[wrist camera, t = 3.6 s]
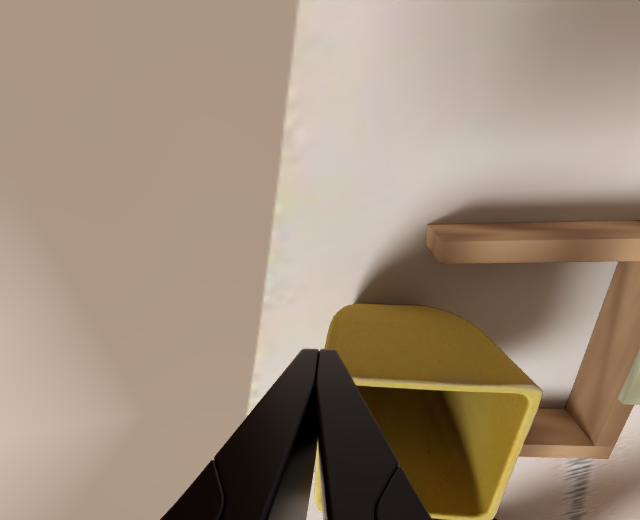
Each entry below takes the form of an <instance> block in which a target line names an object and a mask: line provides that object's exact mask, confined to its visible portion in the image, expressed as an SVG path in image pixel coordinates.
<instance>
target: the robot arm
mask: <svg viewBox="0 0 640 520" xmlns="http://www.w3.org/2000/svg"><path fill="white" fill-rule="evenodd" d="M317 443H318V452H319V467H320V481H321V494H322V508H323V520H447V519H436V518H431V516H430V514H429V513H428V511H427V509H426V508H425V506H424V504H423V503H422V501H421V499H420V498H419V496H418V494H417V493H416V491H415V489H414V488H413V486H412V484H411V482H410V481H409V479H408V477H407V475H406V473H405V472H404V470H403V468H402V467H401V466H400V464H399V461H398V459H397V458H396V456H395V454H394V452H393V451H392V449H391V447H390V445H389V443H388V442H387V440H386V438H385V436H384V434H383V433H382V431H381V429H380V427H379V425H378V424H377V422H376V420H375V418H374V416H373V415H372V413H371V411H370V409H369V408H368V406H367V404H366V402H365V400H364V399H363V397H362V395H361V393H360V391H359V390H358V388H357V386H356V384H355V382H354V381H353V379H352V377H351V375H350V373H349V372H348V370H347V368H346V366H345V365H344V363H343V361H342V359H341V357H340V356H339V354H338V352H337V351H336V350H335V349H321V350H320V351H319V350H318V349H302V350H301V351H300V352H299V354H298V355H297V356H296V357H295V359H294V360H293V361H292V362H291V364H290V365H289V366H288V367H287V368H286V370H285V371H284V372H283V373H282V375H281V376H280V377H279V378H278V379H277V381H276V382H275V383H274V384H273V386H272V387H271V388H270V389H269V390H268V392H267V393H266V394H265V395H264V397H263V398H262V399H261V400H260V402H259V403H258V404H257V405H256V406H255V408H254V409H253V410H252V411H251V413H250V414H249V415H248V416H247V417H246V419H245V420H244V421H243V423H242V424H241V425H240V426H239V427H238V429H237V430H236V431H235V432H234V433H233V435H232V436H231V437H230V438H229V440H228V441H227V442H226V443H225V444H224V446H223V447H222V448H221V449H220V451H219V452H218V453H217V454H216V456H215V457H214V460H215V461H214V460H211V461H210V463H209V464H208V465H207V466H206V467H205V469H204V470H203V471H202V472H201V474H200V475H199V476H198V477H197V478H196V480H195V481H194V482H193V483H192V484H191V486H190V487H189V488H188V489H187V490H186V491H185V493H184V494H183V495H182V496H181V497H180V498H179V499H178V501H177V502H176V503H175V504H174V505H173V507H171V508H170V510H169V511H168V512H167V513H166V514H165V515H164V516H163V517H162V518H161V519H160V520H306V516H307V510H308V504H309V497H310V491H311V485H312V478H313V472H314V466H315V459H316V452H317ZM492 520H497V519H495V518H493V519H492Z"/></svg>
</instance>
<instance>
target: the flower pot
mask: <svg viewBox="0 0 640 520" xmlns="http://www.w3.org/2000/svg"><path fill="white" fill-rule="evenodd" d="M325 349H335V350H336V351H337V352H338V354H339V356H340V357H341V359H342V361H343V363H344V365H345V366H346V368H347V370H348V372H349V373H350V375H351V377H352V379H353V381H354V382H355V384H356V386H357V388H358V390H359V391H360V393H361V395H362V397H363V399H364V400H365V402H366V404H367V406H368V408H369V409H370V411H371V413H372V415H373V416H374V418H375V420H376V422H377V424H378V425H379V427H380V429H381V431H382V433H383V434H384V436H385V438H386V440H387V442H388V443H389V445H390V447H391V449H392V451H393V452H394V454H395V456H396V458H397V459H398V461H399V464H400V466H401V467H402V468H403V470H404V472H405V473H406V475H407V477H408V479H409V481H410V482H411V484H412V486H413V488H414V489H415V491H416V493H417V494H418V496H419V498H420V499H421V501H422V503H423V504H424V506H425V508H426V509H427V511H428V513H429V514H430V516H431V518H436V519H447V520H492V519H493V518H494V517H495V515H496V513H497V511H498V508H499V505H500V503H501V500H502V497H503V495H504V493H505V490H506V487H507V484H508V481H509V478H510V476H511V474H512V472H513V469H514V466H515V464H516V461H517V458H518V456H519V454H520V452H521V449H522V447H523V444H524V441H525V438H526V436H527V434H528V432H529V430H530V428H531V425H532V422H533V419H534V417H535V415H536V412H537V410H538V407H539V404H540V400H541V397H542V392H543V391H542V390H541V389H540V388H539V387H538V386H537V385H536V384H535V383H534V382H533V381H532V380H531V379H530V378H529V377H528V376H527V375H526V374H525V373H524V372H523V371H522V370H521V369H520V368H519V367H518V366H517V365H516V364H515V363H514V362H513V361H512V360H511V359H510V358H509V357H508V356H507V355H506V354H505V353H504V352H503V351H502V350H501V349H500V348H499V347H497V346H496V345H495V344H494V343H493V342H492V341H491V340H490V339H489V338H488V337H487V336H486V335H485V334H484V333H483V332H481V331H480V330H479V329H478V328H477V327H475V326H474V325H473V324H471V323H470V322H468V321H467V320H465V319H463V318H462V317H459V316H457V315H455V314H453V313H450V312H447V311H444V310H440V309H436V308H431V307H425V306H411V305H383V304H363V303H360V304H353V305H348V306H346V307H344V308H342V309H341V310H340V311H338V312H337V313H336V315H335V316H334V317H333V319H332V321H331V324H330V326H329V330H328V334H327V339H326V344H325ZM314 500H315V505H316V507H317V509H318V510H320V511H323V508H322V494H321V481H320V467H319V452H318V443H317V452H316V465H315V491H314Z"/></svg>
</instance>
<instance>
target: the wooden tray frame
mask: <svg viewBox="0 0 640 520" xmlns="http://www.w3.org/2000/svg"><path fill="white" fill-rule="evenodd" d="M425 244H426V245H427V247H428V248H429V250H430V251H431V252H432V254H433V255H434V257H435V258H436V259H437V261H438V262H439V263H440V264H449V263H529V262H609V261H619V262H618V265H617V267H616V270H615V273H614V276H613V278H612V281H611V284H610V287H609V289H608V292H607V295H606V298H605V300H604V303H603V306H602V309H601V311H600V314H599V317H598V320H597V322H596V325H595V328H594V331H593V333H592V336H591V339H590V342H589V344H588V347H587V350H586V353H585V355H584V358H583V361H582V364H581V366H580V369H579V372H578V375H577V377H576V380H575V383H574V386H573V388H572V391H571V394H570V397H569V399H568V402H567V405H566V408H565V409H548V408H538V410H537V412H536V415H535V417H534V419H533V422H532V425H531V428H530V430H529V432H528V434H527V436H526V438H525V441H524V444H523V447H522V449H521V452H520V454H519V457H556V458H592V459H608V458H609V456H610V454H611V452H612V450H613V448H614V446H615V444H616V442H617V440H618V438H619V435H620V433H621V431H622V429H623V427H624V425H625V423H626V421H627V419H628V417H629V414H630V412H631V410H632V408H633V406H634V405H640V220H628V221H580V222H531V223H483V224H435V225H427V230H426V241H425Z"/></svg>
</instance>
